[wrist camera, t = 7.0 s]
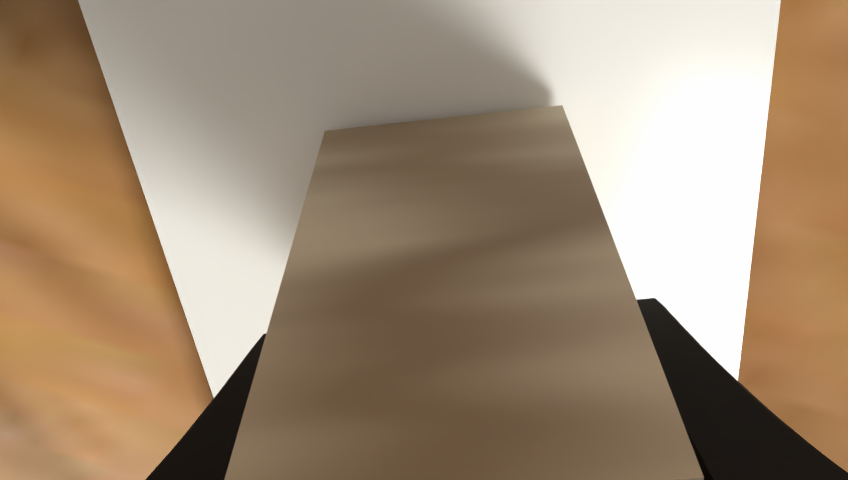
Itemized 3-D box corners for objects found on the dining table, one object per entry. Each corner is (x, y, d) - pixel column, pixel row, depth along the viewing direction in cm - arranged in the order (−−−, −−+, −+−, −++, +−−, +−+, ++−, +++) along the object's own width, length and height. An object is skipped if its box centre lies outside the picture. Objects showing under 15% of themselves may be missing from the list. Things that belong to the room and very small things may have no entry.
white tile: (775, -136, 12) (795, -129, 12) (721, 398, 18) (733, 423, 17) (84, -49, 13) (64, -38, 12) (243, 437, 19) (236, 463, 18)
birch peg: (562, 105, 13) (704, 477, 6) (568, 301, 15) (680, 743, 8) (324, 130, 13) (213, 514, 7) (362, 319, 16) (308, 762, 9)
